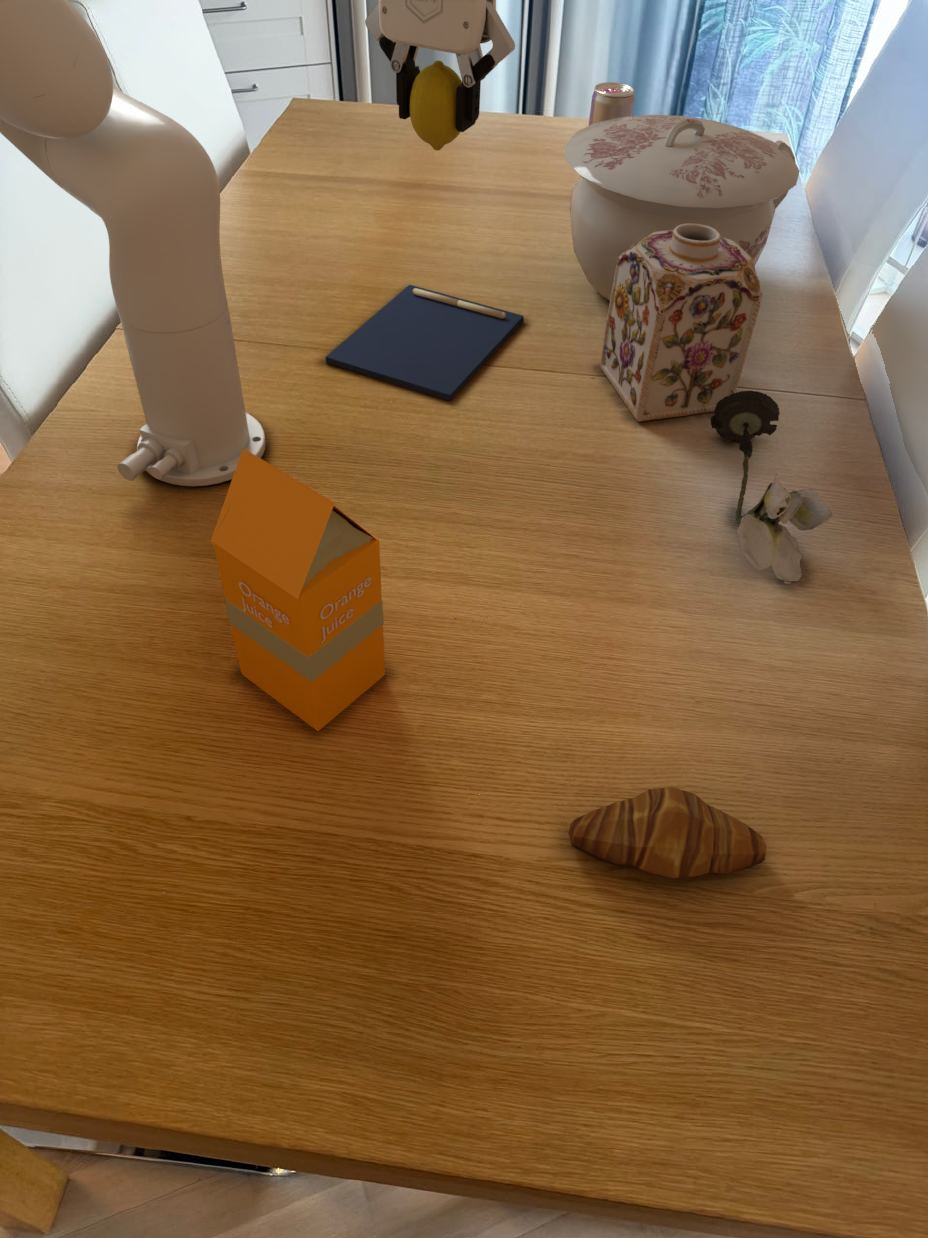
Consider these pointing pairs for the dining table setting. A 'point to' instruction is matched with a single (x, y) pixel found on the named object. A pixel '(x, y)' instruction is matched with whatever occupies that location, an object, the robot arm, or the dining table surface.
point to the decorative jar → (679, 322)
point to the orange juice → (299, 592)
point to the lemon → (435, 104)
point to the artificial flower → (767, 490)
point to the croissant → (668, 835)
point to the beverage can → (611, 102)
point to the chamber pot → (671, 185)
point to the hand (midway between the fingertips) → (437, 119)
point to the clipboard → (426, 341)
